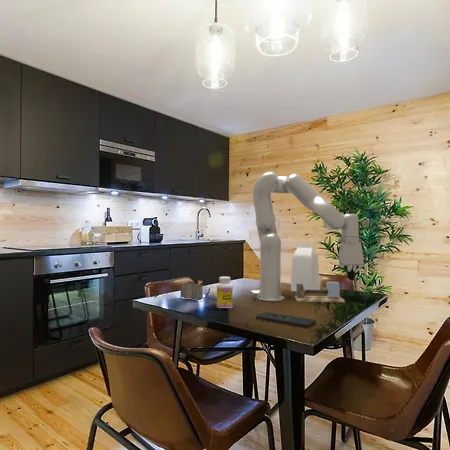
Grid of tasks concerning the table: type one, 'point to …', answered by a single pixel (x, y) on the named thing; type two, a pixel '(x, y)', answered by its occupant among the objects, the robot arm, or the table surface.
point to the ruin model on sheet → (192, 290)
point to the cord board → (315, 298)
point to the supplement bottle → (224, 293)
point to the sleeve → (333, 289)
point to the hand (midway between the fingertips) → (351, 279)
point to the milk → (305, 268)
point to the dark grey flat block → (287, 319)
